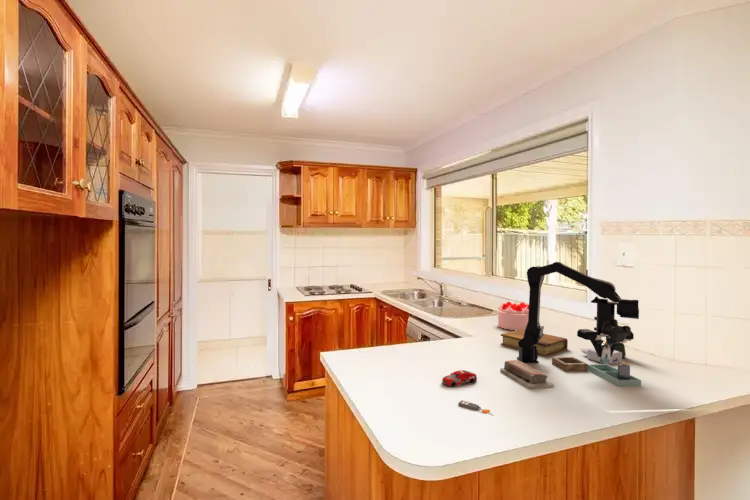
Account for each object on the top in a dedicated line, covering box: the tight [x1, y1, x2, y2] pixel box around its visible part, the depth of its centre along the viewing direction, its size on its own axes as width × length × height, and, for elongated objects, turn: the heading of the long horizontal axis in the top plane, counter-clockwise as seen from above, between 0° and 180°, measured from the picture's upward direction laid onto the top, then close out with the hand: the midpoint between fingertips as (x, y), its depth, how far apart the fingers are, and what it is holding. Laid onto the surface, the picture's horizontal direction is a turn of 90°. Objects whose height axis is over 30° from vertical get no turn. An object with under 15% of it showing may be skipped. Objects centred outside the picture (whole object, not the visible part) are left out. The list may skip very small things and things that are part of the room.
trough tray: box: [586, 363, 642, 388], centre depth 136 cm, size 8×17×2 cm, turn 5°
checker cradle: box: [551, 356, 588, 372], centre depth 147 cm, size 9×9×3 cm
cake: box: [497, 301, 529, 331], centre depth 218 cm, size 20×20×14 cm
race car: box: [441, 369, 478, 388], centre depth 131 cm, size 13×5×4 cm, turn 113°
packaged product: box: [499, 359, 555, 390], centre depth 136 cm, size 18×5×10 cm
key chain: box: [458, 400, 494, 417], centre depth 110 cm, size 13×4×2 cm, turn 51°
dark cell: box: [617, 361, 631, 380], centre depth 131 cm, size 4×4×7 cm
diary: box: [500, 329, 569, 357], centre depth 177 cm, size 23×19×6 cm
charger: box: [579, 347, 623, 365], centre depth 160 cm, size 5×9×15 cm
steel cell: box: [599, 341, 611, 363], centre depth 140 cm, size 4×4×7 cm
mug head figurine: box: [615, 325, 632, 358], centre depth 163 cm, size 11×7×13 cm, turn 31°
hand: (604, 356), depth 140 cm, fingers closed on steel cell, 4 cm apart
